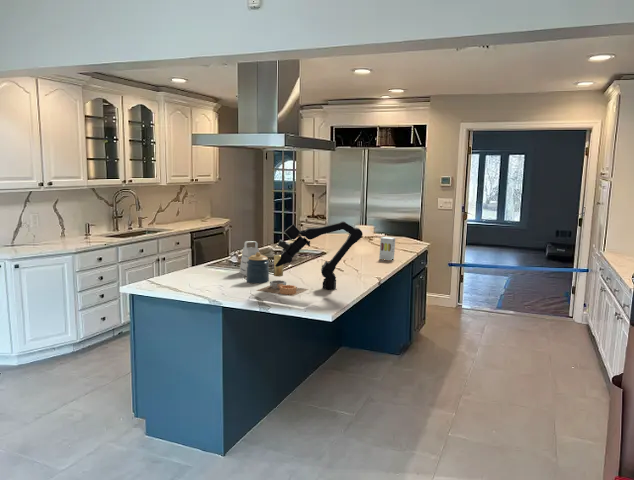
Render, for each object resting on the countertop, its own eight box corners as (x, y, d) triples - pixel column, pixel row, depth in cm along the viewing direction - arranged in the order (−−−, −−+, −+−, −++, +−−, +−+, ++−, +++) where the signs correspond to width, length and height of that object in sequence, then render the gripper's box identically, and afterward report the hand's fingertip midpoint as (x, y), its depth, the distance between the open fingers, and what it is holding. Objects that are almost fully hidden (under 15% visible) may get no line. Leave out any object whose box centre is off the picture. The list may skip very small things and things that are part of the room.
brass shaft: (284, 275, 281) (285, 255, 279) (280, 276, 276) (280, 256, 275) (276, 274, 283) (277, 254, 281) (272, 275, 278) (272, 255, 277)
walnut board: (308, 291, 279) (308, 289, 279) (293, 298, 263) (293, 296, 262) (273, 285, 288) (273, 284, 288) (256, 292, 272) (256, 290, 272)
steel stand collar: (288, 286, 282) (288, 281, 282) (280, 289, 275) (281, 284, 275) (275, 285, 286) (275, 279, 285) (267, 287, 278) (267, 282, 278)
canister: (242, 281, 296) (242, 251, 294) (261, 279, 304) (262, 249, 302) (253, 285, 286) (254, 254, 284) (273, 283, 294) (274, 253, 292)
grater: (261, 274, 318) (262, 242, 315) (245, 275, 312) (246, 243, 310) (254, 271, 327) (255, 240, 324) (239, 272, 321) (239, 240, 318)
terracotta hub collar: (298, 291, 272) (298, 286, 271) (291, 295, 265) (291, 289, 264) (284, 289, 275) (285, 284, 275) (277, 292, 268) (277, 287, 268)
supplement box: (378, 260, 384) (380, 237, 382) (382, 258, 393) (383, 236, 390) (391, 261, 381) (392, 238, 378) (394, 259, 389) (395, 237, 387)
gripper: (286, 232, 286) (266, 251, 287) (286, 237, 267) (264, 257, 268) (300, 247, 287) (280, 266, 288) (301, 252, 269) (279, 272, 270)
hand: (276, 265), depth 279 cm, fingers closed on brass shaft, 5 cm apart
